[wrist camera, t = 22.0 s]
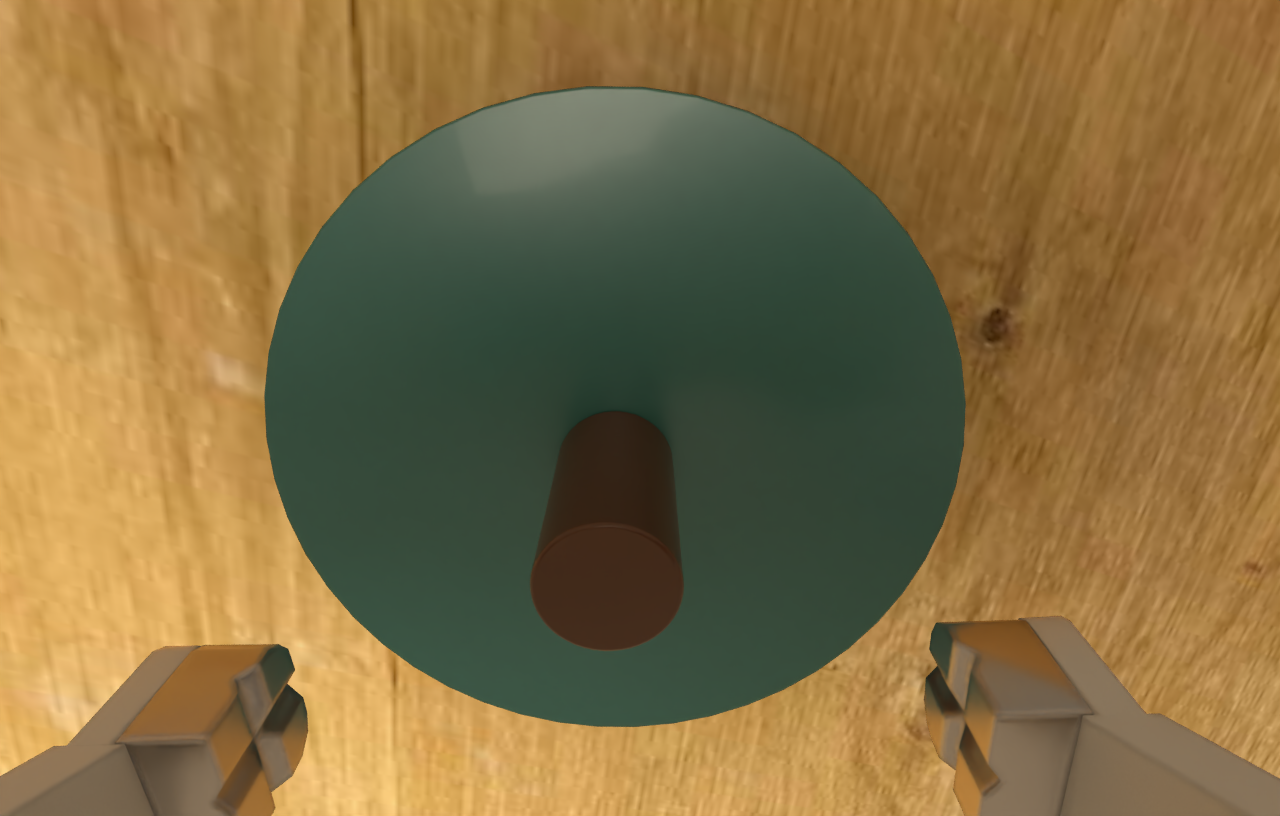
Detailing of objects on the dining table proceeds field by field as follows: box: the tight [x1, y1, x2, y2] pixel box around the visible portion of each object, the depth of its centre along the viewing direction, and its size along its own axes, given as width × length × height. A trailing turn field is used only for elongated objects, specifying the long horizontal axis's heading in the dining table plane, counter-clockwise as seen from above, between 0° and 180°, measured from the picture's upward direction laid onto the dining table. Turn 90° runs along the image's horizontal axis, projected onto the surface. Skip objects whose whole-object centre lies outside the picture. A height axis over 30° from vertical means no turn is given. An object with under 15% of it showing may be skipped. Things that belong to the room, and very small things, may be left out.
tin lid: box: [265, 86, 966, 727], centre depth 14 cm, size 15×15×6 cm
